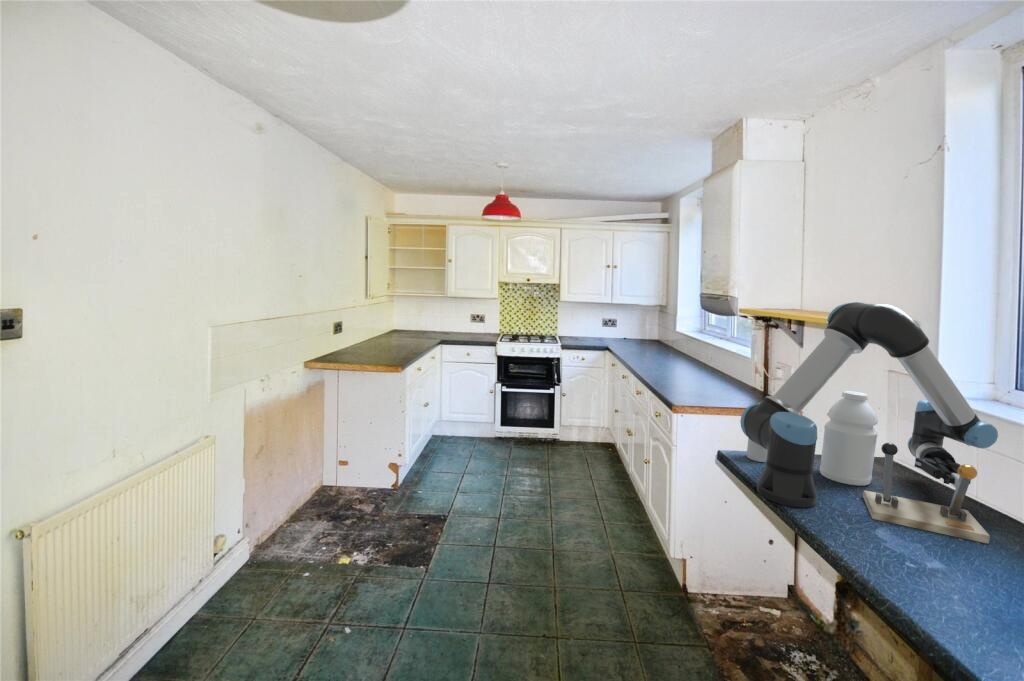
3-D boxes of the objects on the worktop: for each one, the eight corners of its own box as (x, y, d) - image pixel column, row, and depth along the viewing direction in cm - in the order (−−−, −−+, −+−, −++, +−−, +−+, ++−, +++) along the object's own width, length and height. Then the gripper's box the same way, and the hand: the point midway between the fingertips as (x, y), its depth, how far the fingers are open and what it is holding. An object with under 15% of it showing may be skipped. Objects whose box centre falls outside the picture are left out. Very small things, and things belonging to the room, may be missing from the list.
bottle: (833, 466, 167) (843, 386, 163) (879, 481, 155) (891, 395, 151) (810, 473, 160) (820, 389, 156) (857, 489, 148) (868, 399, 144)
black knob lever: (879, 500, 132) (883, 441, 136) (877, 500, 136) (880, 442, 139) (896, 503, 131) (899, 443, 134) (893, 503, 134) (896, 444, 137)
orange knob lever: (945, 517, 127) (961, 469, 119) (942, 507, 129) (957, 460, 122) (963, 521, 125) (981, 472, 118) (959, 511, 128) (976, 463, 121)
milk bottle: (773, 464, 167) (780, 407, 165) (749, 461, 169) (755, 405, 166) (766, 456, 175) (772, 401, 172) (743, 454, 176) (749, 400, 174)
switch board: (872, 518, 129) (874, 504, 128) (862, 496, 143) (864, 483, 142) (988, 543, 118) (991, 528, 117) (966, 517, 132) (968, 503, 131)
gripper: (961, 475, 143) (994, 506, 122) (906, 466, 149) (928, 494, 128) (965, 450, 142) (999, 478, 121) (909, 442, 148) (932, 467, 127)
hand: (962, 486), depth 124 cm, fingers closed
